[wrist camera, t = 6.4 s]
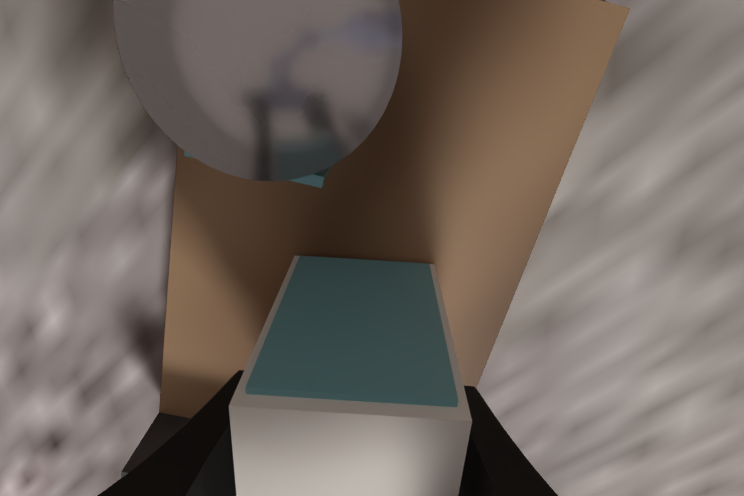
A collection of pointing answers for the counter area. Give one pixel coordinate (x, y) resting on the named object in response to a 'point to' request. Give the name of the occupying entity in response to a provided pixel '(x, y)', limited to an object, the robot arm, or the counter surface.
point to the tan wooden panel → (395, 190)
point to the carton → (352, 386)
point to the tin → (262, 78)
